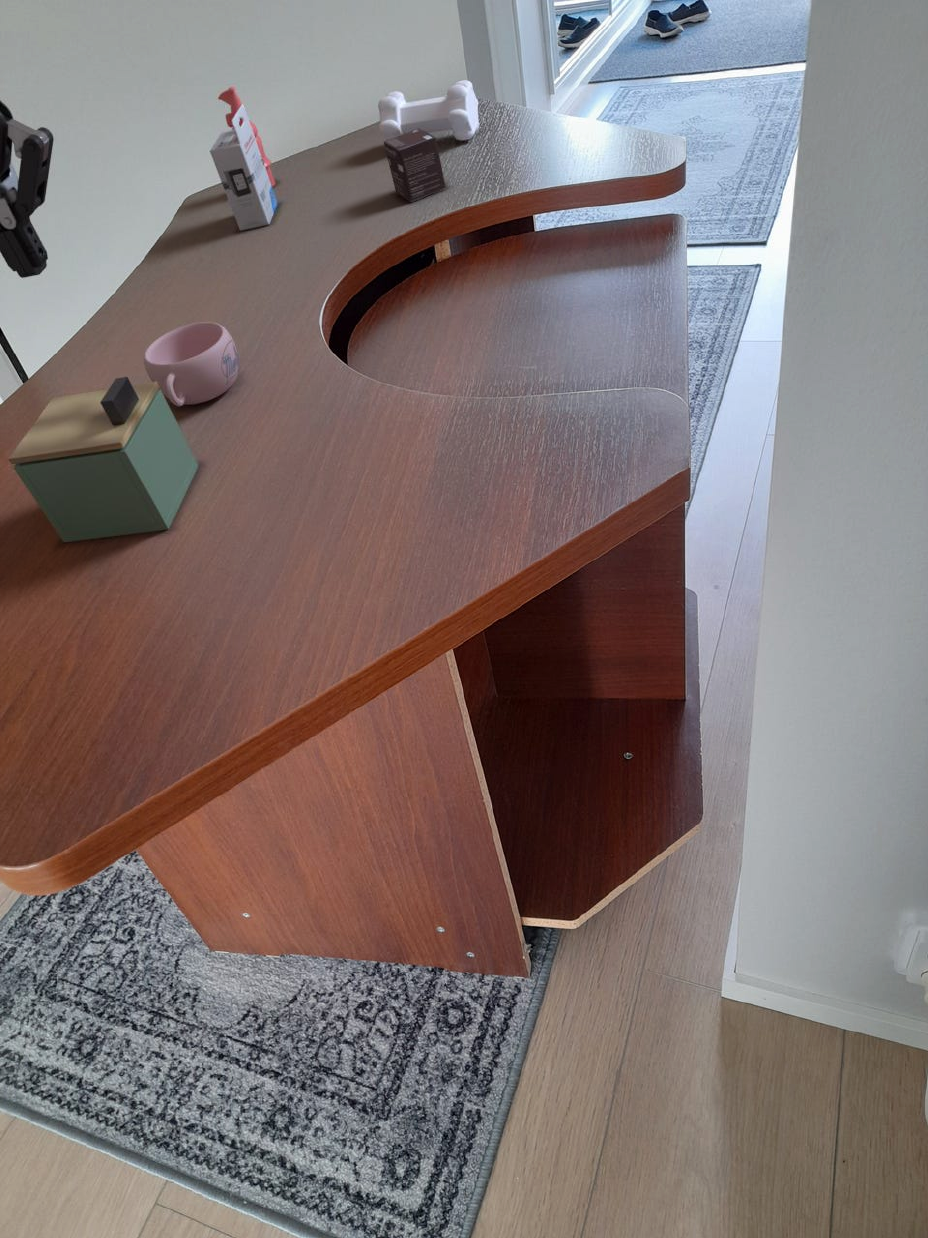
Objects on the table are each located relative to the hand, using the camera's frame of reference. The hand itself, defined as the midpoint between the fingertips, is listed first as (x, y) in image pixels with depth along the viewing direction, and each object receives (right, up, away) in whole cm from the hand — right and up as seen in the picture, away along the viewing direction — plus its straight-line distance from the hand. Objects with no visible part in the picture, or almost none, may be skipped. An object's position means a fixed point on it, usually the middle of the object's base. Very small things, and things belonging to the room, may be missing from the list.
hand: (35, 271), depth 72 cm
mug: (+5, -3, +30) cm, 30 cm away
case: (+2, -16, +16) cm, 23 cm away
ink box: (+2, +34, +68) cm, 76 cm away
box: (+28, +35, +61) cm, 76 cm away
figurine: (+1, +44, +78) cm, 90 cm away
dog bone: (+29, +50, +76) cm, 96 cm away
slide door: (0, -10, +10) cm, 14 cm away
